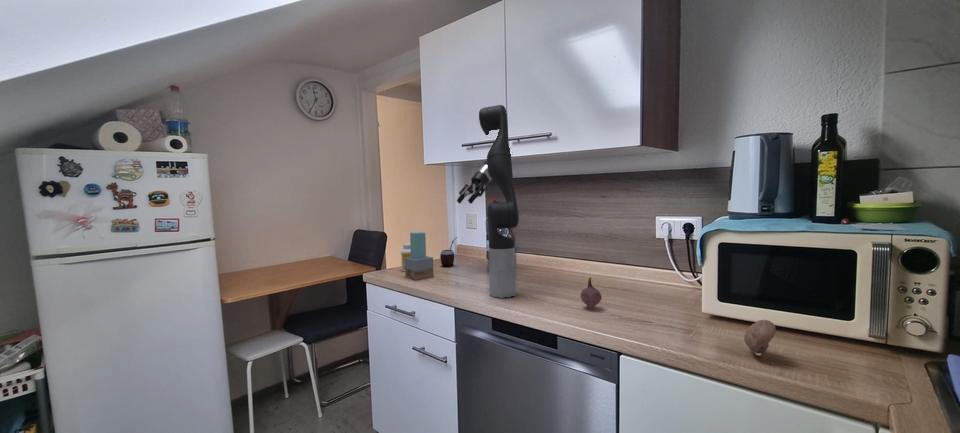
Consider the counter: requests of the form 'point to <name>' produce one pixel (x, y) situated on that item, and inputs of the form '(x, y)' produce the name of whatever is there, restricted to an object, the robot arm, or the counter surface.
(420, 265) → the top slab
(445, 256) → the mate gourd
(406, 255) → the supplement bottle
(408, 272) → the bottom slab
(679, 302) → the counter surface
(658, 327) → the counter surface
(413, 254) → the teal block
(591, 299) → the vegetable
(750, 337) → the mushroom
